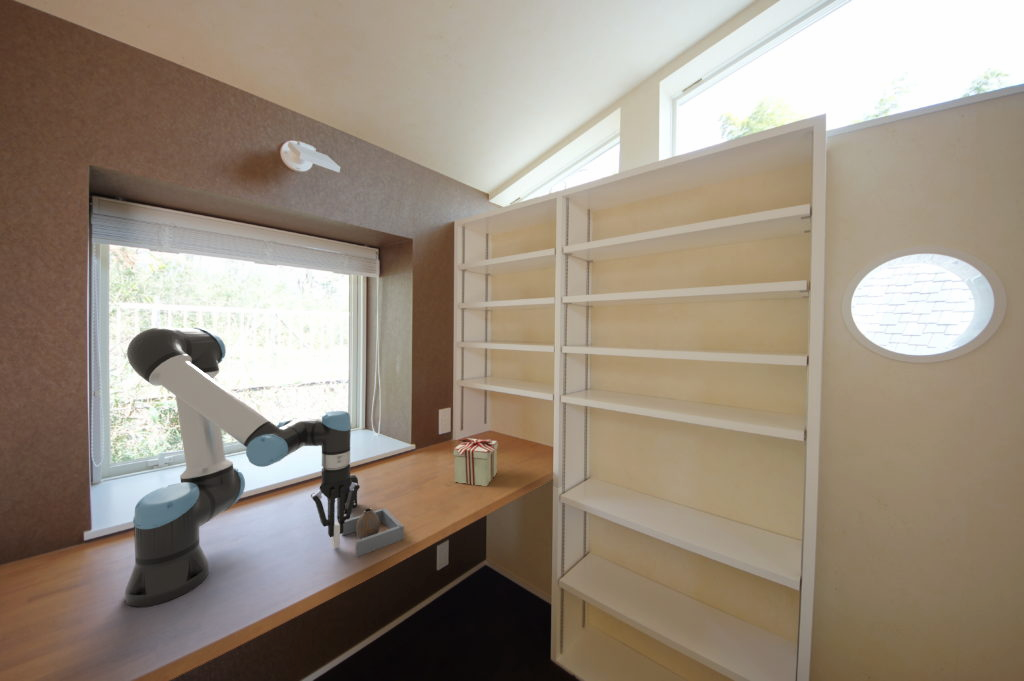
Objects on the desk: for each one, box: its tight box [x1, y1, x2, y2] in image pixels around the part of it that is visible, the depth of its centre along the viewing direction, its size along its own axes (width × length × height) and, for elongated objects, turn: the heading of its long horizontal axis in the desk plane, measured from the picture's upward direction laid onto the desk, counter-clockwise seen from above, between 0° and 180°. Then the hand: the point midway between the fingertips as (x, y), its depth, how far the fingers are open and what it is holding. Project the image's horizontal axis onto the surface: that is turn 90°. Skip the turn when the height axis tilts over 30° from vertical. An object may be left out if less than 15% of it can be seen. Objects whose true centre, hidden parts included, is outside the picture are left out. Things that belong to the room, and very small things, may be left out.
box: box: [341, 507, 405, 558], centre depth 112 cm, size 14×15×4 cm
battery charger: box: [344, 474, 359, 511], centre depth 130 cm, size 7×4×11 cm, turn 130°
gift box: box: [453, 437, 499, 487], centre depth 155 cm, size 17×18×17 cm
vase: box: [355, 507, 381, 540], centre depth 111 cm, size 7×7×9 cm
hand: (335, 545), depth 106 cm, fingers closed
